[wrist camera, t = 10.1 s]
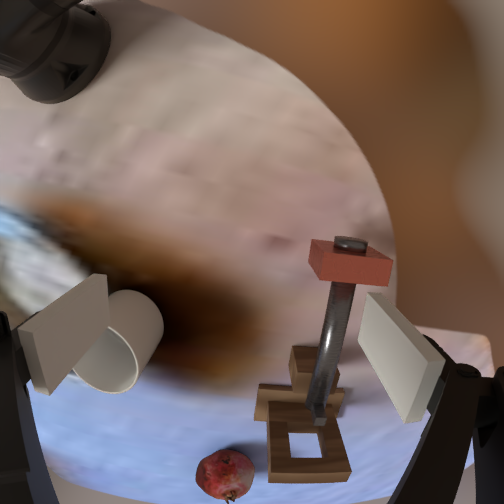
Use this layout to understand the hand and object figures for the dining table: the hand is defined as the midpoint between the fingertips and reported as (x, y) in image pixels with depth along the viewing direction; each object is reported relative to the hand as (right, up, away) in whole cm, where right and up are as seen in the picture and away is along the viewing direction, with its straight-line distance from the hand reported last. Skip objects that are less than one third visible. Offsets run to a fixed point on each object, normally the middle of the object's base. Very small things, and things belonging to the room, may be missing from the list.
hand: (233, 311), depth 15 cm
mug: (-16, -5, +25) cm, 30 cm away
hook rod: (+9, -5, +19) cm, 22 cm away
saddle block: (+8, -11, +25) cm, 29 cm away
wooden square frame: (+7, -19, +27) cm, 34 cm away
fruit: (-3, -31, +30) cm, 43 cm away
